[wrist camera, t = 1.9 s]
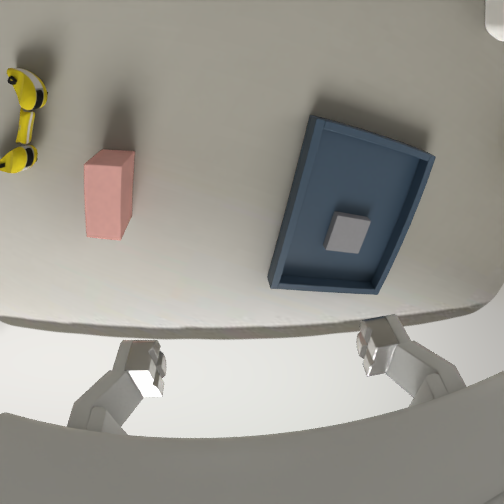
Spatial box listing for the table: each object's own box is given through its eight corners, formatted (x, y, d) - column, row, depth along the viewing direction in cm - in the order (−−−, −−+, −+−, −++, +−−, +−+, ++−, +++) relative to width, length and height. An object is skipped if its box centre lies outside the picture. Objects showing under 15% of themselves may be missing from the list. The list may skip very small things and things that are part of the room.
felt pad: (322, 245, 32) (325, 250, 31) (334, 210, 30) (337, 215, 29) (354, 249, 33) (358, 253, 32) (367, 216, 31) (371, 221, 30)
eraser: (101, 213, 28) (86, 237, 24) (101, 148, 24) (83, 163, 21) (132, 216, 28) (120, 240, 25) (135, 151, 25) (121, 166, 21)
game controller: (46, 178, 24) (18, 188, 21) (12, 160, 24) (-13, 168, 21) (65, 73, 19) (35, 74, 16) (28, 67, 19) (0, 68, 16)
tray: (267, 277, 34) (270, 288, 33) (309, 114, 25) (316, 117, 24) (371, 284, 37) (377, 294, 35) (425, 151, 28) (435, 156, 26)
